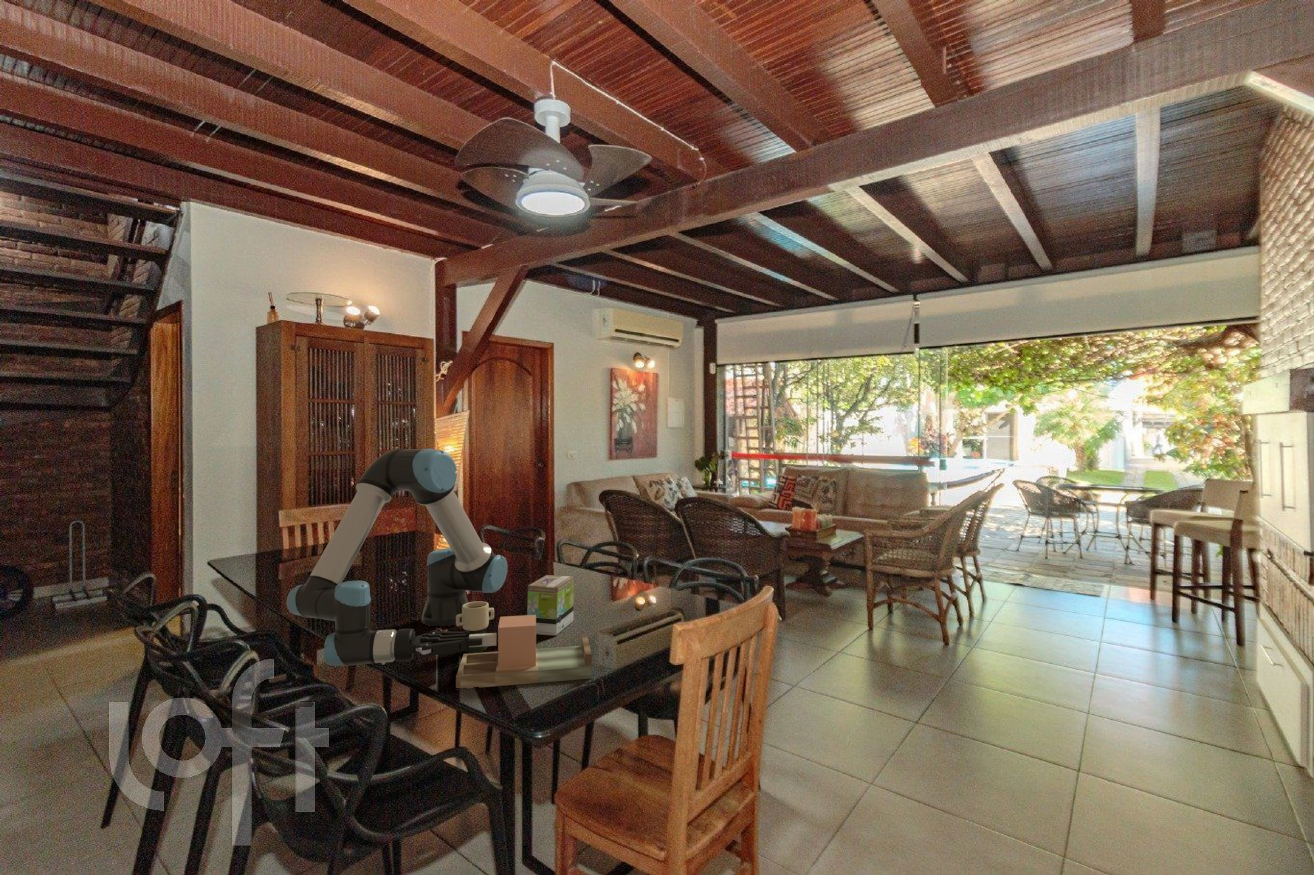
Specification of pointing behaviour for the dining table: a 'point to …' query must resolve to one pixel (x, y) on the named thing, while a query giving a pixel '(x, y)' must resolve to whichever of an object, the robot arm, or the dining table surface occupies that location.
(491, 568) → the robot arm
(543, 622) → the tea box
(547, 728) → the dining table surface
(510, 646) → the terracotta block
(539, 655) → the trap deck
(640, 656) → the dining table surface
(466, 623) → the character mug
